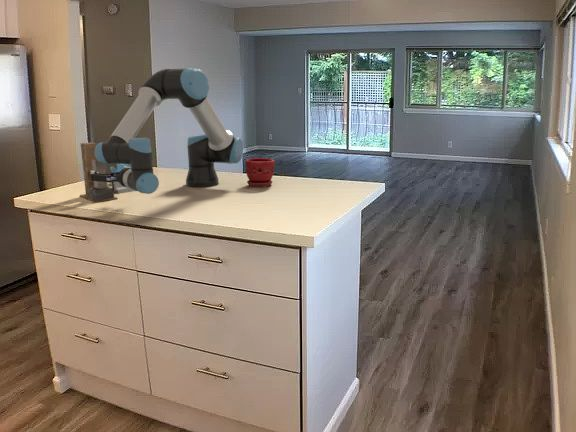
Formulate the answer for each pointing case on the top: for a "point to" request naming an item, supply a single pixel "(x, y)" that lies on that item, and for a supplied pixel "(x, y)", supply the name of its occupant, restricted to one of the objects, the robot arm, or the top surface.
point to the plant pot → (259, 172)
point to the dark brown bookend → (91, 193)
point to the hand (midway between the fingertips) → (108, 171)
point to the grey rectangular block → (99, 168)
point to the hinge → (120, 188)
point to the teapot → (119, 167)
